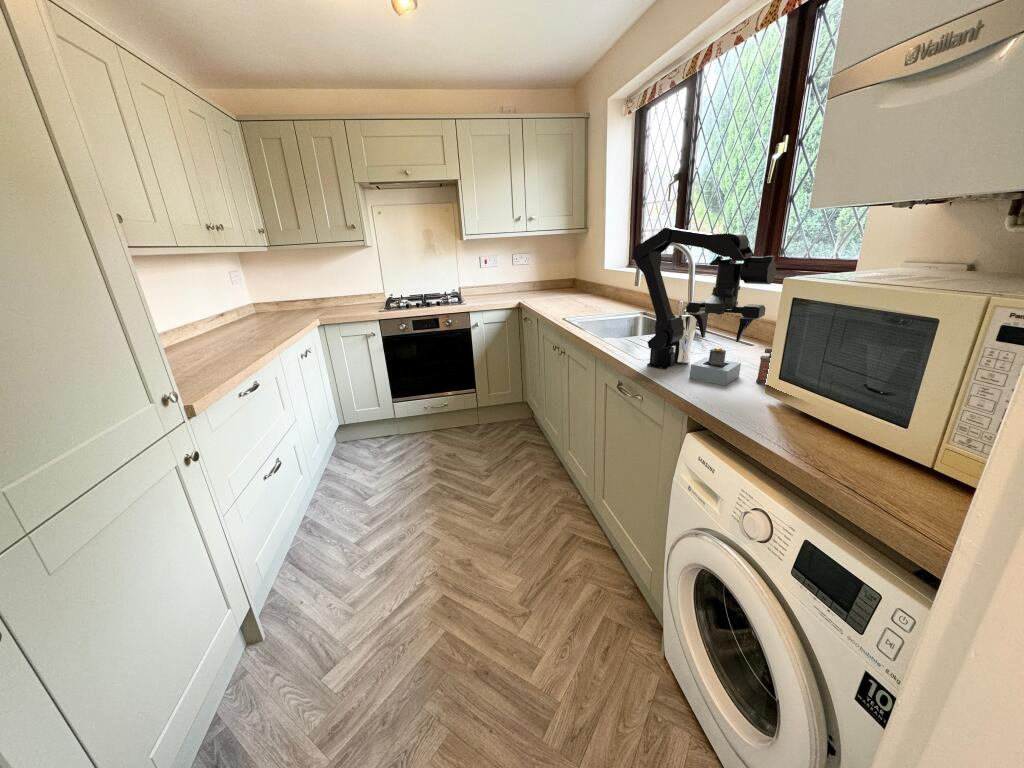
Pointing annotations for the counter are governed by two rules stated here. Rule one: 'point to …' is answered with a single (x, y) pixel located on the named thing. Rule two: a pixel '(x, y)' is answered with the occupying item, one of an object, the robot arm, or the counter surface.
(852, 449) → the counter surface
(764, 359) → the red decorated tea tin
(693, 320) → the shiny silver cylinder
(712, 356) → the cell
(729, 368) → the box
